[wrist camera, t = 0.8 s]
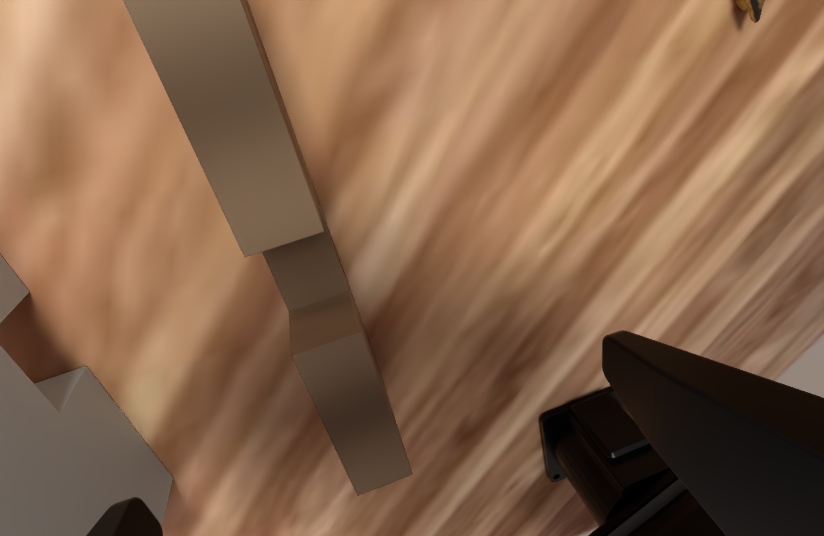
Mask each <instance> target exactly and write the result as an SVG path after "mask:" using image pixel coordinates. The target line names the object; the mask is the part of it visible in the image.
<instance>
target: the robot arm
mask: <svg viewBox="0 0 824 536" xmlns="http://www.w3.org/2000/svg"><path fill="white" fill-rule="evenodd" d="M602 368H603V372H604V375H605V377H606V379H607V380H608V382H609V383H610V385H611V386H612V387H610V388H608V389H605V390H603V391H600V392H598V393H595V394H593V395H590V396H588V397H585V398H583V399H580V400H578V401H575V402H573V403H570V404H568V405H565V406H562V407H560V408H557V409H555V410H552V411H550V412H547V413H545V414H543V415H542V416H541V418H540V426H541V433H542V441H543V448H544V455H545V463H546V470H547V475H548V477H549V479H550V481H552V482H556V481H559V480H561V479H564V478H566V477H567V478H568V479H569V481H570V482H571V484H572V486H573V487H574V489H575V490H576V492H577V493H578V495H579V496H580V498H581V499H582V501H583V502H584V504H585V505H586V507H587V508H588V510H589V511H590V513H591V514H592V516H593V517H594V519H595V520H596V522H597V523H598V525H599V527H598V528H597V529H596V530H595V531H593V532H592V533H591V534H590V535H589V536H824V398H822V397H820V396H817V395H813V394H811V393H808V392H805V391H802V390H799V389H796V388H793V387H790V386H787V385H784V384H781V383H778V382H775V381H772V380H769V379H767V378H764V377H761V376H758V375H755V374H752V373H749V372H746V371H743V370H740V369H737V368H734V367H731V366H728V365H725V364H722V363H719V362H717V361H714V360H711V359H708V358H705V357H702V356H699V355H696V354H693V353H690V352H687V351H684V350H681V349H678V348H675V347H672V346H669V345H666V344H664V343H661V342H658V341H655V340H652V339H649V338H646V337H643V336H640V335H637V334H634V333H631V332H628V331H623V330H622V331H618V332H615V333H612V334H609V335H606V336H605V337H604V339H603V342H602ZM86 536H163V532H162V527H161V525H160V523H159V521H158V520H157V518H156V517H155V516H154V514H153V513H152V512H151V511H150V509H149V508H148V507H147V505H146V504H145V503H144V501H143V500H142V499H141V498H139V497H132V498H129V499H126V500H123V501H120V502H117V503H115V504H113V505H111V506H110V507H109V508H108V509H107V510H106V512H105V513H104V514H103V515H102V517H101V518H100V519H99V520H98V521H97V523H96V524H95V525H94V526H93V528H92V529H91V530H90V531H89V532H88V534H87V535H86Z"/></svg>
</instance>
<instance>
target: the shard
mask: <svg viewBox="0 0 824 536" xmlns="http://www.w3.org/2000/svg"><path fill="white" fill-rule="evenodd" d="M735 2H736V4H737V5H738V6H739V8H741V10H742V11H746V10H748V12H749V15H750V18H751V19H752V21H753V22H755V23H756V22H758V21H759V19H760V15H761V11H762V8H763V5H764V2H765V0H735Z"/></svg>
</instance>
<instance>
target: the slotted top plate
mask: <svg viewBox="0 0 824 536" xmlns="http://www.w3.org/2000/svg"><path fill="white" fill-rule="evenodd" d="M28 293H29V291H28V289H27V288H26V287H25V286H24V284H23V283H22V282H21V280H20V279H19V278H18V277H17V275H16V274H15V273H14V271H13V270H12V269H11V267H10V266H9V265H8V264H7V262H6V261H5V260H4V258H3V257H2V256H1V255H0V323H1V322H2V321H3V320H4V319H5V318H6V317H7V315H8V314H9V313H10V312H11V311H12V310H13V309H14V308H15V307H16V306H17V305H18V304H19V303H20V302H21V301H22V299H23V298H24V297H25V296H26V295H27V294H28ZM172 481H173V477H172V476H171V475H170V473H169V472H168V471H167V469H166V468H165V467H164V466H163V464H162V463H161V462H160V460H159V459H158V458H157V456H156V455H155V454H154V453H153V451H152V450H151V449H150V447H149V446H148V445H147V444H146V442H145V441H144V440H143V438H142V437H141V436H140V434H139V433H138V432H137V431H136V429H135V428H134V427H133V425H132V424H131V423H130V422H129V420H128V419H127V418H126V416H125V415H124V414H123V412H122V411H121V410H120V409H119V407H118V406H117V405H116V403H115V402H114V401H113V400H112V398H111V397H110V396H109V394H108V393H107V392H106V390H105V389H104V388H103V387H102V385H101V384H100V383H99V381H98V380H97V379H96V378H95V376H94V375H93V374H92V372H91V371H90V370H89V368H88V367H87V366H84V367H81V368H79V369H76V370H73V371H70V372H67V373H64V374H61V375H58V376H55V377H52V378H49V379H46V380H43V381H40V382H37V383H33V382H32V381H31V380H30V379H29V378H28V377H27V375H26V374H25V373H24V372H23V371H22V370H21V368H20V367H19V366H18V365H17V364H16V363H15V362H14V360H13V359H12V358H11V357H10V356H9V355H8V354H7V352H6V351H5V350H4V349H3V348H2V347H1V345H0V536H86V535H87V534H88V532H89V531H90V530H91V529H92V528H93V526H94V525H95V524H96V523H97V521H98V520H99V519H100V518H101V517H102V515H103V514H104V513H105V512H106V510H107V509H108V508H109V507H110V506H111V505H113V504H115V503H117V502H120V501H123V500H126V499H129V498H132V497H139V498H141V499H142V500H143V501H144V503H145V504H146V505H147V507H148V508H149V509H150V511H151V512H152V513H153V514H154V516H155V517H156V518H157V520H158V521H159V523H160V525H161V527H162V525H163V521H164V516H165V512H166V508H167V503H168V499H169V494H170V490H171V485H172Z"/></svg>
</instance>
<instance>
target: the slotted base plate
mask: <svg viewBox="0 0 824 536" xmlns="http://www.w3.org/2000/svg"><path fill="white" fill-rule="evenodd" d="M123 1H124V4H125V6H126V8H127V10H128V12H129V14H130V16H131V18H132V20H133V23H134V25H135V27H136V29H137V31H138V33H139V35H140V37H141V39H142V42H143V44H144V46H145V48H146V50H147V52H148V54H149V56H150V58H151V61H152V63H153V65H154V67H155V69H156V71H157V73H158V75H159V77H160V80H161V82H162V84H163V86H164V88H165V90H166V92H167V94H168V96H169V99H170V101H171V103H172V105H173V107H174V109H175V111H176V113H177V115H178V118H179V120H180V122H181V124H182V126H183V128H184V130H185V132H186V134H187V137H188V139H189V141H190V143H191V145H192V147H193V149H194V151H195V153H196V156H197V158H198V160H199V162H200V164H201V166H202V168H203V170H204V172H205V175H206V177H207V179H208V181H209V183H210V185H211V187H212V189H213V191H214V194H215V196H216V198H217V200H218V202H219V204H220V206H221V208H222V211H223V213H224V215H225V217H226V219H227V221H228V223H229V225H230V227H231V230H232V232H233V234H234V236H235V238H236V240H237V242H238V244H239V246H240V249H241V251H242V253H243V255H244V257H247V256H250V255H253V254H256V253H259V252H263V255H264V257H265V259H266V261H267V264H268V266H269V268H270V270H271V272H272V275H273V277H274V279H275V281H276V284H277V286H278V288H279V290H280V292H281V295H282V297H283V299H284V301H285V304H286V306H287V308H288V310H289V321H290V338H291V356H292V358H293V360H294V363H295V365H296V367H297V369H298V371H299V373H300V375H301V377H302V379H303V382H304V384H305V386H306V388H307V390H308V392H309V394H310V396H311V398H312V401H313V403H314V405H315V407H316V409H317V411H318V413H319V415H320V417H321V420H322V422H323V424H324V426H325V428H326V430H327V432H328V434H329V436H330V439H331V441H332V443H333V445H334V447H335V449H336V451H337V453H338V455H339V458H340V460H341V462H342V464H343V466H344V468H345V470H346V472H347V474H348V477H349V479H350V481H351V483H352V485H353V487H354V489H355V491H356V493H357V496H359V495H361V494H364V493H366V492H369V491H371V490H374V489H376V488H379V487H381V486H384V485H386V484H389V483H391V482H394V481H397V480H399V479H402V478H404V477H407V476H409V475H412V471H411V468H410V465H409V461H408V458H407V455H406V452H405V449H404V446H403V442H402V439H401V436H400V433H399V430H398V427H397V423H396V420H395V417H394V414H393V411H392V408H391V404H390V401H389V398H388V395H387V392H386V389H385V385H384V382H383V380H382V377H381V374H380V371H379V368H378V366H377V363H376V360H375V357H374V354H373V352H372V349H371V346H370V343H369V340H368V338H367V335H366V332H365V329H364V327H363V324H362V321H361V318H360V315H359V313H358V310H357V307H356V304H355V301H354V299H353V296H352V293H351V290H350V287H349V285H348V282H347V279H346V276H345V273H344V271H343V268H342V265H341V262H340V259H339V257H338V254H337V251H336V248H335V245H334V243H333V240H332V237H331V234H330V231H329V229H328V226H327V223H326V220H325V217H324V215H323V212H322V209H321V206H320V203H319V201H318V198H317V195H316V192H315V189H314V187H313V184H312V181H311V178H310V175H309V173H308V170H307V167H306V164H305V161H304V159H303V156H302V153H301V150H300V147H299V145H298V142H297V139H296V136H295V133H294V131H293V128H292V125H291V122H290V119H289V117H288V114H287V111H286V108H285V105H284V103H283V100H282V97H281V94H280V91H279V89H278V86H277V83H276V80H275V77H274V75H273V72H272V69H271V66H270V63H269V61H268V58H267V55H266V52H265V49H264V47H263V44H262V41H261V38H260V35H259V33H258V30H257V27H256V24H255V21H254V19H253V16H252V13H251V10H250V7H249V5H248V2H247V0H123Z"/></svg>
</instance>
